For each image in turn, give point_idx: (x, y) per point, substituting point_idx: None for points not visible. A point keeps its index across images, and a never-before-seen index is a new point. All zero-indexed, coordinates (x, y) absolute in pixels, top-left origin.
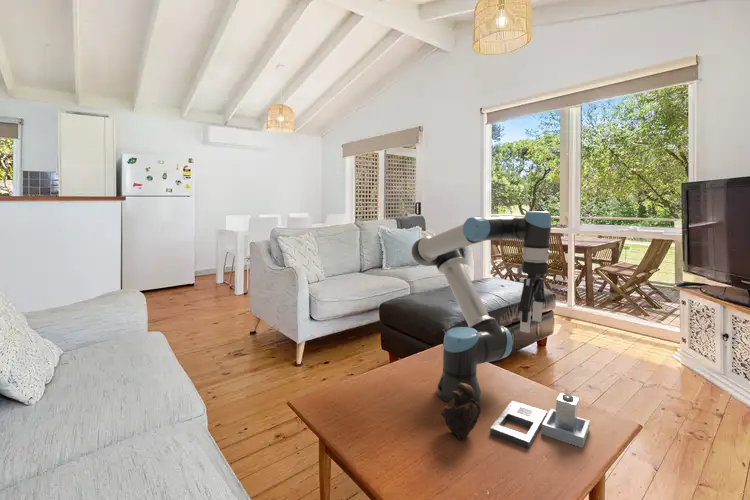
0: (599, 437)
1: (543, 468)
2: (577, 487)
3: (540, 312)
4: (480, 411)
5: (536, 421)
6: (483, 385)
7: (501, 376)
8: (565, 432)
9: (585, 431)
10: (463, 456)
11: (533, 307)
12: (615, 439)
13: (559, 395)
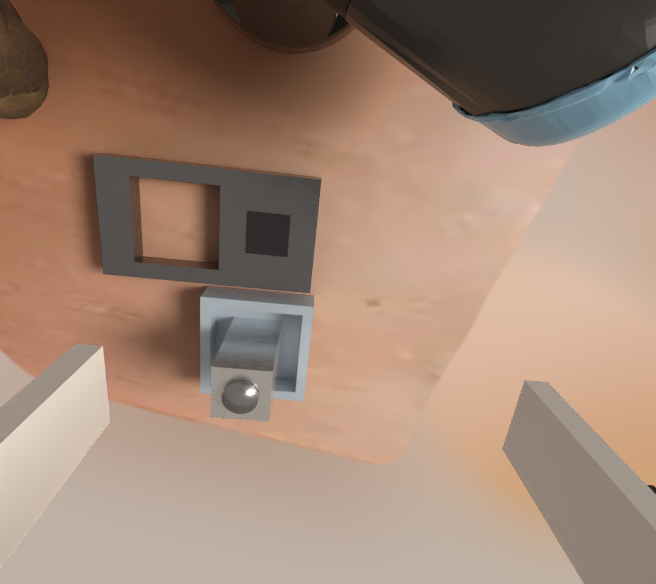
0: (284, 404)
1: (59, 311)
2: None
3: (559, 530)
4: (16, 118)
5: (227, 275)
6: None
7: None
8: (200, 354)
9: None
10: None
11: (628, 507)
12: (296, 432)
13: (249, 370)
